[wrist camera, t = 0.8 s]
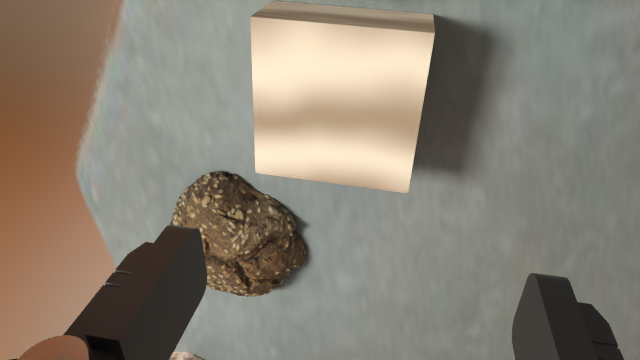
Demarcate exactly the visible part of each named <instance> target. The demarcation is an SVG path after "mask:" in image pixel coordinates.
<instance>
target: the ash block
mask: <svg viewBox="0 0 640 360" xmlns="http://www.w3.org/2000/svg"><path fill="white" fill-rule="evenodd" d="M434 36H435V28H434V18H433V14H423V13H412V12H400V11H388V10H376V9H364V8H352V7H341V6H329V5H317V4H305V3H293V2H281V1H271V2H270V3H269V4H267V5H266V6H264V7H263V8H262V9H260V10H259V11H258V12H256V13H255V14H253V15H252V16H251V48H252V79H253V110H254V140H255V171H256V173H261V174H269V175H276V176H284V177H291V178H299V179H306V180H314V181H321V182H329V183H336V184H344V185H351V186H358V187H366V188H373V189H381V190H388V191H396V192H403V193H408V190H409V184H410V178H411V172H412V166H413V160H414V155H415V149H416V143H417V137H418V131H419V125H420V119H421V113H422V107H423V101H424V95H425V89H426V84H427V78H428V72H429V66H430V60H431V54H432V48H433V42H434Z"/></svg>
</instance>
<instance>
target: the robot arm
mask: <svg viewBox="0 0 640 360" xmlns="http://www.w3.org/2000/svg"><path fill="white" fill-rule="evenodd" d="M206 285H207V268H206V261H205V255H204V249H203V242H202V236H201V232H200V230H199V229H197V228H190V227H182V226H175V225H169V226H167V227H166V228H165V229H164V230H163V231H162V233H161V234H160V235H159V237H158V238H157V239H156V241H155V242H154V243H149V242H145V243H144V244H142V245H141V246H139V247H138V248H136V249H135V250H133V251H132V252H130V253H129V254H128V255H127V256H126V257H125V258H124V260H123V261H122V262H121V263H120V265H119V266H118V267H117V268H116V272H115V273H112V275H111V276H110V277H109V278H108V280H107V281H106V284H105V285H103V286H102V287H101V289H100V290H99V291H98V292H97V294H96V295H95V296H94V297H93V299H92V300H91V301H90V302H89V304H88V305H87V306H86V307H85V309H84V310H83V311H82V312H81V314H80V315H79V316H78V317H77V319H76V320H75V321H74V322H73V324H72V325H71V326H70V327H69V329H68V330H67V331H66V332H65V333H64V335H60V336H54V337H51V338H48V339H45V340H42V341H40V342H38V343H37V344H35V345H33V346H32V347H30V348H29V349H28V350H26V351H25V352H24V353H23V354H22V355H21V356H20V357H19V358H18V359H12V360H169V359H170V357H171V355H172V353H173V352H174V350H175V348H176V346H177V344H178V342H179V340H180V338H181V337H182V335H183V333H184V331H185V329H186V327H187V325H188V324H189V322H190V320H191V318H192V316H193V314H194V312H195V310H196V309H197V307H198V305H199V303H200V301H201V299H202V297H203V295H204V292H205V289H206ZM512 343H513V349H514V355H515V360H624V359H623V356H622V354H621V351H620V349H618V348H617V346H618V344H617V342H616V340H615V337H614V335H613V332H612V330H611V328H610V325H609V323H608V322H607V321H606V320H605V319H604V318H603V317H602V316H601V315H600V313H599V312H598V311H597V310H596V309H595V308H594V307H593V306H592V305H591V304H586V303H579V302H577V300H576V297H575V295H574V292H573V289H572V287H571V284H570V282H569V280H568V279H567V278H565V277H558V276H551V275H543V274H535V273H531V274H530V275H529V276H528V278H527V281H526V284H525V287H524V290H523V293H522V296H521V299H520V302H519V305H518V308H517V311H516V314H515V317H514V321H513V328H512Z"/></svg>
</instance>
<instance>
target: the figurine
mask: <svg viewBox="0 0 640 360" xmlns="http://www.w3.org/2000/svg"><path fill="white" fill-rule="evenodd" d="M169 360H203V359H201V358H199V357H197V356H195V355H193V354H192V353H189V352H174V353H172V355H171V357H170V359H169Z"/></svg>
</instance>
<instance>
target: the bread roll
mask: <svg viewBox="0 0 640 360" xmlns="http://www.w3.org/2000/svg"><path fill="white" fill-rule="evenodd" d="M170 225H175V226H182V227H190V228H197V229H199V230H200V232H201V236H202V242H203V249H204V255H205V261H206V268H207V286H209V287H210V288H211V289H215V290H220V291H226V292H229V293H232V294H236V295H238V296H247V297H249V296H250V297H254V296H259V295H263V294H265V293H266V294H268V293H270V292H271V291H273V290H274V289H275V288H278V287H280V285H281V284H282V283H283V280H284V279H285V278H286V277H288V276H289V274H290V272H291V271H293V270H295V269H297V268H299V267H300V266H301V265H302V263H304V261H305V253H306V251H305V245H304V243H303V241H302V239H301V237H300V236H299V234H298V233H296V232H295V231H294V230H295V229H296V227H295V220H294V218H293V216H292V215H291V214H290V213H289V211H288V210H287V209H285V208H284V207H282V206H281V205H280V204H279V203H278V202H277V201H276V199H274V198H271V197H270V196H268V195H264V194H263V193H261V192H258V191H256V190H255V189H253V188H251V187H250V186H248V185H247V184H246V183H245V181H244V180H243V179H242V178H241V177H239V176H238V175H237V174H234V175H233V174H227V173H225V172H211V173H207V174H206V175H203V176H201V177H200V178H199V179H197V180H196V182H194V183H193V184H192V185H190V187H187V188H186V189H185V190H184V193H183V194H182V195H181V196H180V197H179V200H178V202H177V203H176V208H175V210H174V213H173V216H172V221H171V223H170Z"/></svg>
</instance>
